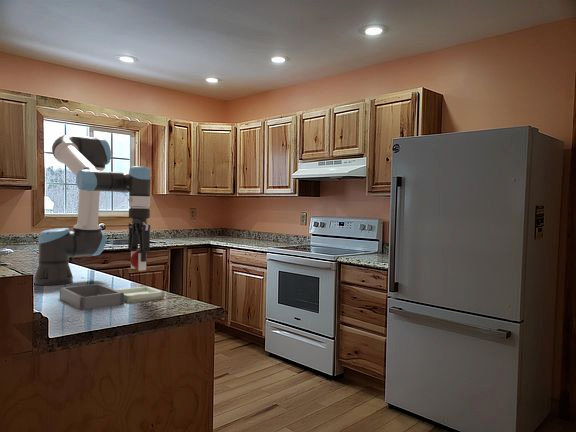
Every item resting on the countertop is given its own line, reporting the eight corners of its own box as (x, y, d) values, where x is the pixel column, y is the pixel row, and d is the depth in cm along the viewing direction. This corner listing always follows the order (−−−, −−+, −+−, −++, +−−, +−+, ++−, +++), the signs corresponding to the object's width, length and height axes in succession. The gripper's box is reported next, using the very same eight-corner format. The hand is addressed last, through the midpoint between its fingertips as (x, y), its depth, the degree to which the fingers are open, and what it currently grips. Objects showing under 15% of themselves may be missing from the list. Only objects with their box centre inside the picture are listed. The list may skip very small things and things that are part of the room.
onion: (148, 269, 171) (148, 248, 171) (144, 271, 165) (144, 249, 165) (133, 268, 171) (133, 247, 171) (128, 270, 165) (128, 249, 165)
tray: (111, 296, 169) (111, 289, 168) (146, 292, 178) (147, 286, 178) (127, 303, 158) (127, 296, 158) (163, 298, 168) (163, 291, 168)
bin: (59, 298, 163) (59, 287, 163) (99, 294, 173) (100, 283, 172) (80, 310, 146) (80, 298, 146) (123, 304, 156) (123, 293, 156)
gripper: (119, 207, 172) (118, 267, 172) (140, 208, 158) (139, 273, 158) (138, 207, 177) (137, 265, 177) (160, 208, 163) (159, 271, 164)
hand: (138, 269), depth 168 cm, fingers closed on onion, 6 cm apart
